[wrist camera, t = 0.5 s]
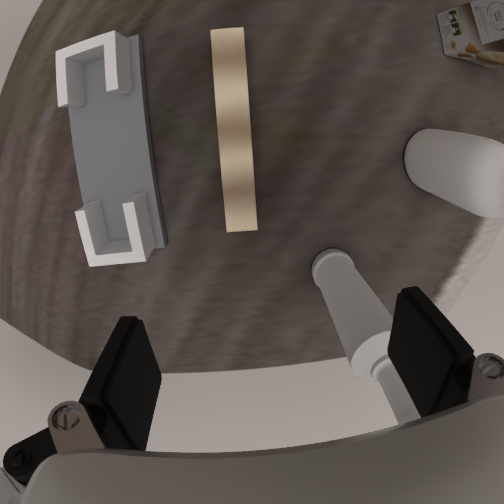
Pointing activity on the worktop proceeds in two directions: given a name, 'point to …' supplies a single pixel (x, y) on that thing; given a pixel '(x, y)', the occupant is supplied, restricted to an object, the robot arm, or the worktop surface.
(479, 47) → the coffee box
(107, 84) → the grey holder stand
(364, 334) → the bottle
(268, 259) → the worktop surface
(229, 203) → the slat
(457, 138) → the milk bottle
